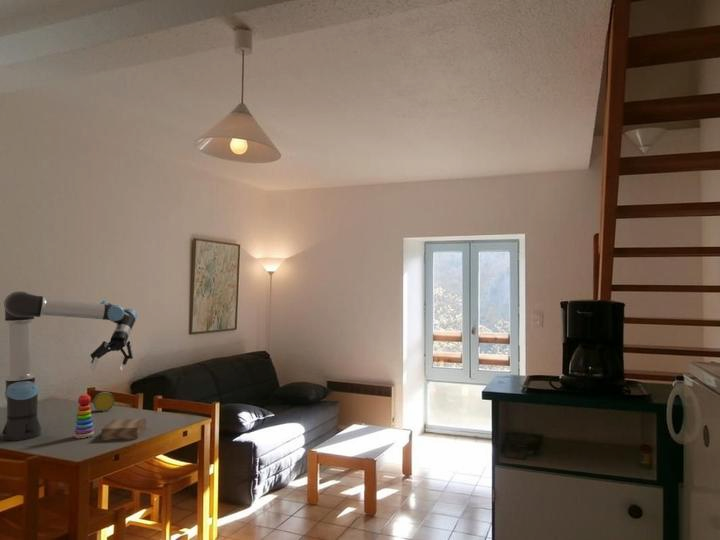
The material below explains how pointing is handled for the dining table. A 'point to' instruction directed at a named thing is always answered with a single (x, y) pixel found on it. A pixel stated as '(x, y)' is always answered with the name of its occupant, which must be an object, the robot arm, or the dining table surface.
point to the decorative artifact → (103, 401)
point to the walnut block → (123, 429)
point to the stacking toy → (84, 418)
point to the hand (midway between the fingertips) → (105, 369)
